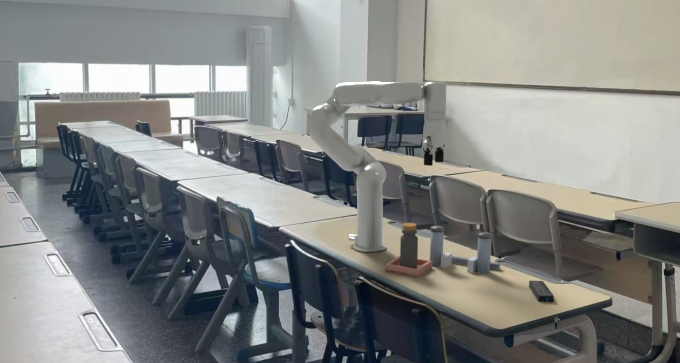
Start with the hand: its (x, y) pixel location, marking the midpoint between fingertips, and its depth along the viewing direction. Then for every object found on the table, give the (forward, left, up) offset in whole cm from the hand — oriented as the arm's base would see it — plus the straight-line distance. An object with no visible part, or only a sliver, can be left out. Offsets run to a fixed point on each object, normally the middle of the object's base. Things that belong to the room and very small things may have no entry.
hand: (433, 163), depth 248 cm
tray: (+2, -24, -33) cm, 41 cm away
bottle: (+2, -24, -33) cm, 41 cm away
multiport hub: (+47, -26, -34) cm, 63 cm away
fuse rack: (+16, -11, -33) cm, 39 cm away
